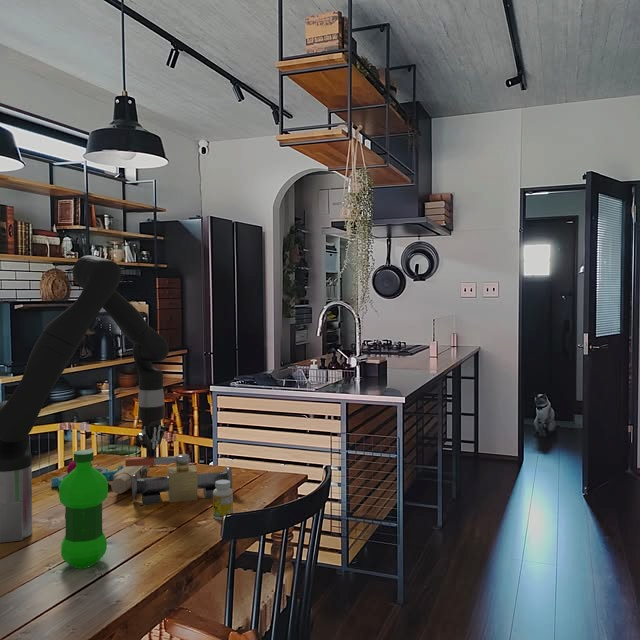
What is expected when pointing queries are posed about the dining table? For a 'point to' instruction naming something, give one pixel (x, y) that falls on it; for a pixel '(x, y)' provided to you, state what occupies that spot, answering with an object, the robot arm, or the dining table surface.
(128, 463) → the valve lever
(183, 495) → the pipe valve
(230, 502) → the supplement bottle
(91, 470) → the plastic bottle
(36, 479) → the dining table surface
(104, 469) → the butterfly valve
